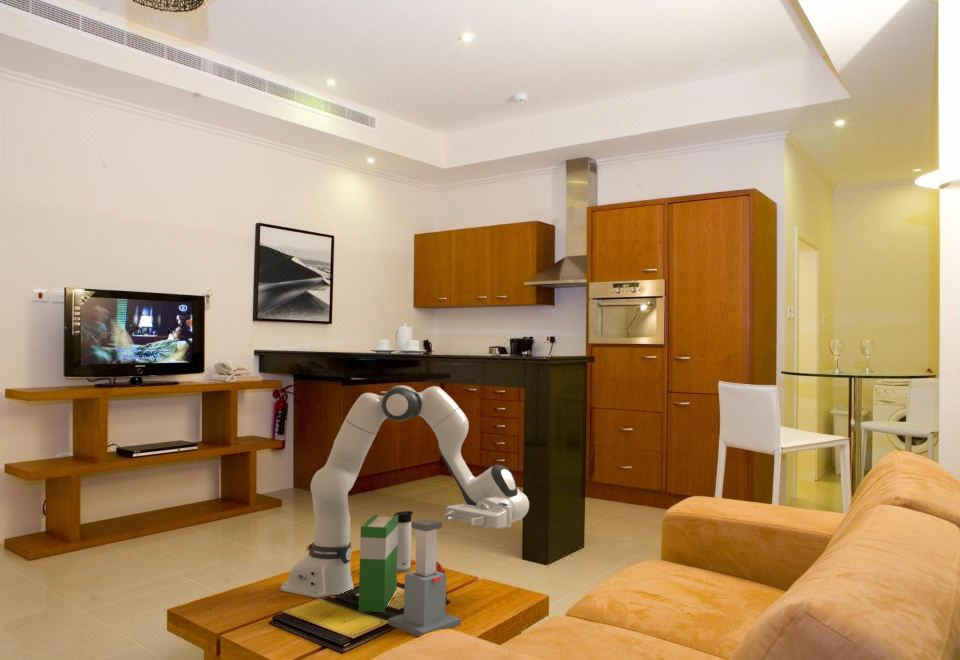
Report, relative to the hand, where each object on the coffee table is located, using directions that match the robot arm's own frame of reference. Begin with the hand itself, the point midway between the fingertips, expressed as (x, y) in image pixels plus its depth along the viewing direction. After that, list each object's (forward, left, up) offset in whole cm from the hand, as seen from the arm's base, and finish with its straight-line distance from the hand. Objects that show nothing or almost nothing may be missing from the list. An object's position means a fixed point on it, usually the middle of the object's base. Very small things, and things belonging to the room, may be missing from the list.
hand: (457, 519), depth 198 cm
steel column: (-6, -11, -24) cm, 27 cm away
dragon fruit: (-15, +22, -27) cm, 38 cm away
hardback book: (-25, +2, -27) cm, 36 cm away
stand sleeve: (-6, -11, -26) cm, 29 cm away
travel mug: (-30, +35, -27) cm, 53 cm away
